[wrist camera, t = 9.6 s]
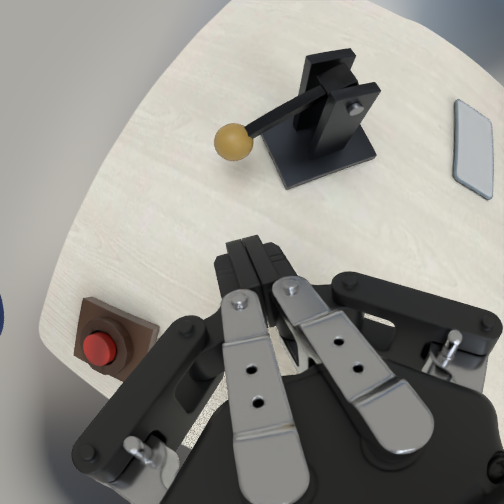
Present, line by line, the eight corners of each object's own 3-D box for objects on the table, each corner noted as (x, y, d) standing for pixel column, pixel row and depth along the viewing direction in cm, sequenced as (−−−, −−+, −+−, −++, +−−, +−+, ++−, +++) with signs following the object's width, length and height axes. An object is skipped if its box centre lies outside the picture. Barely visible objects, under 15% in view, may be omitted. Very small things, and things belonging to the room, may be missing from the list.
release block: (82, 351, 32) (65, 358, 28) (92, 296, 32) (74, 299, 28) (146, 383, 31) (133, 395, 27) (159, 326, 32) (147, 333, 28)
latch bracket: (286, 190, 32) (302, 137, 18) (256, 125, 33) (252, 50, 19) (373, 158, 32) (426, 104, 18) (341, 100, 33) (371, 30, 19)
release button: (88, 353, 28) (81, 357, 26) (93, 326, 28) (85, 329, 27) (113, 366, 28) (106, 371, 26) (119, 339, 28) (111, 342, 26)
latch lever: (234, 170, 28) (214, 164, 24) (221, 140, 28) (201, 132, 25) (365, 101, 21) (361, 84, 18) (345, 71, 21) (338, 52, 18)
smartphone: (454, 177, 31) (456, 96, 31) (451, 179, 31) (453, 99, 32) (493, 201, 30) (492, 121, 31) (489, 202, 31) (489, 123, 32)
